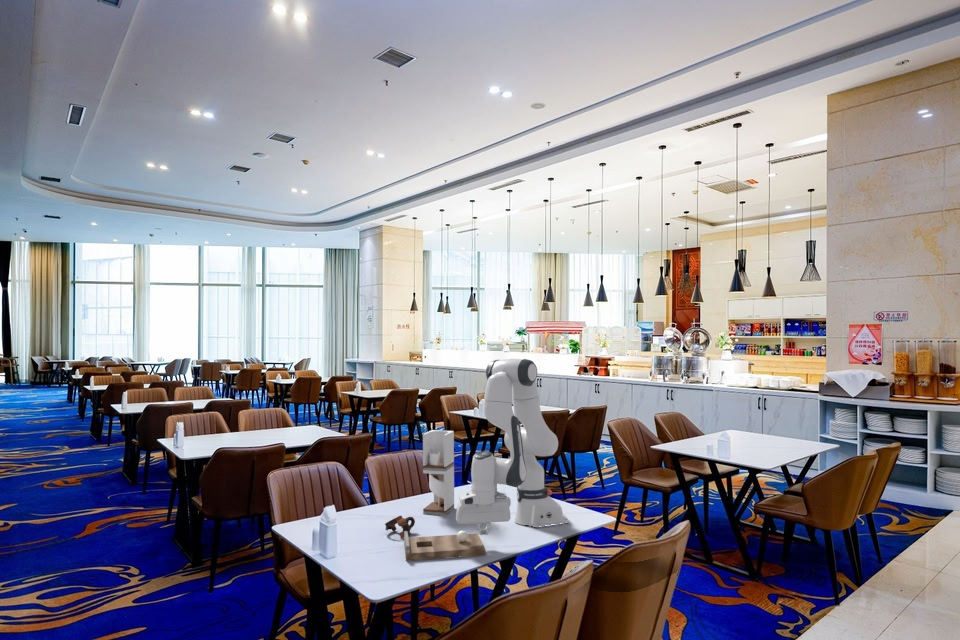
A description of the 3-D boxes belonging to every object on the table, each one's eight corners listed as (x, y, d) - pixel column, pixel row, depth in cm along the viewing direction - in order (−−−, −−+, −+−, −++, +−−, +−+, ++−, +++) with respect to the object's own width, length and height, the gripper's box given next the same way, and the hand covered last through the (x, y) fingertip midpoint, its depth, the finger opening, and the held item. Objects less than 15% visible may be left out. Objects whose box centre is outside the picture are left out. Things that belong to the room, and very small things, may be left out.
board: (477, 539, 221) (477, 526, 221) (485, 555, 205) (484, 541, 206) (404, 544, 216) (404, 531, 217) (406, 560, 201) (405, 546, 201)
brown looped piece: (395, 542, 221) (386, 521, 223) (388, 546, 228) (379, 526, 230) (422, 528, 228) (413, 508, 230) (414, 532, 235) (405, 513, 237)
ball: (467, 539, 214) (467, 528, 215) (468, 543, 210) (468, 532, 211) (456, 540, 214) (456, 529, 214) (457, 543, 210) (457, 532, 210)
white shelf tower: (432, 506, 266) (431, 430, 267) (454, 508, 263) (453, 431, 264) (423, 513, 255) (422, 434, 256) (446, 515, 252) (445, 435, 253)
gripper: (508, 493, 219) (508, 530, 218) (455, 495, 215) (455, 533, 215) (512, 497, 213) (512, 535, 212) (457, 500, 209) (457, 538, 209)
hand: (483, 534), depth 213 cm, fingers closed
